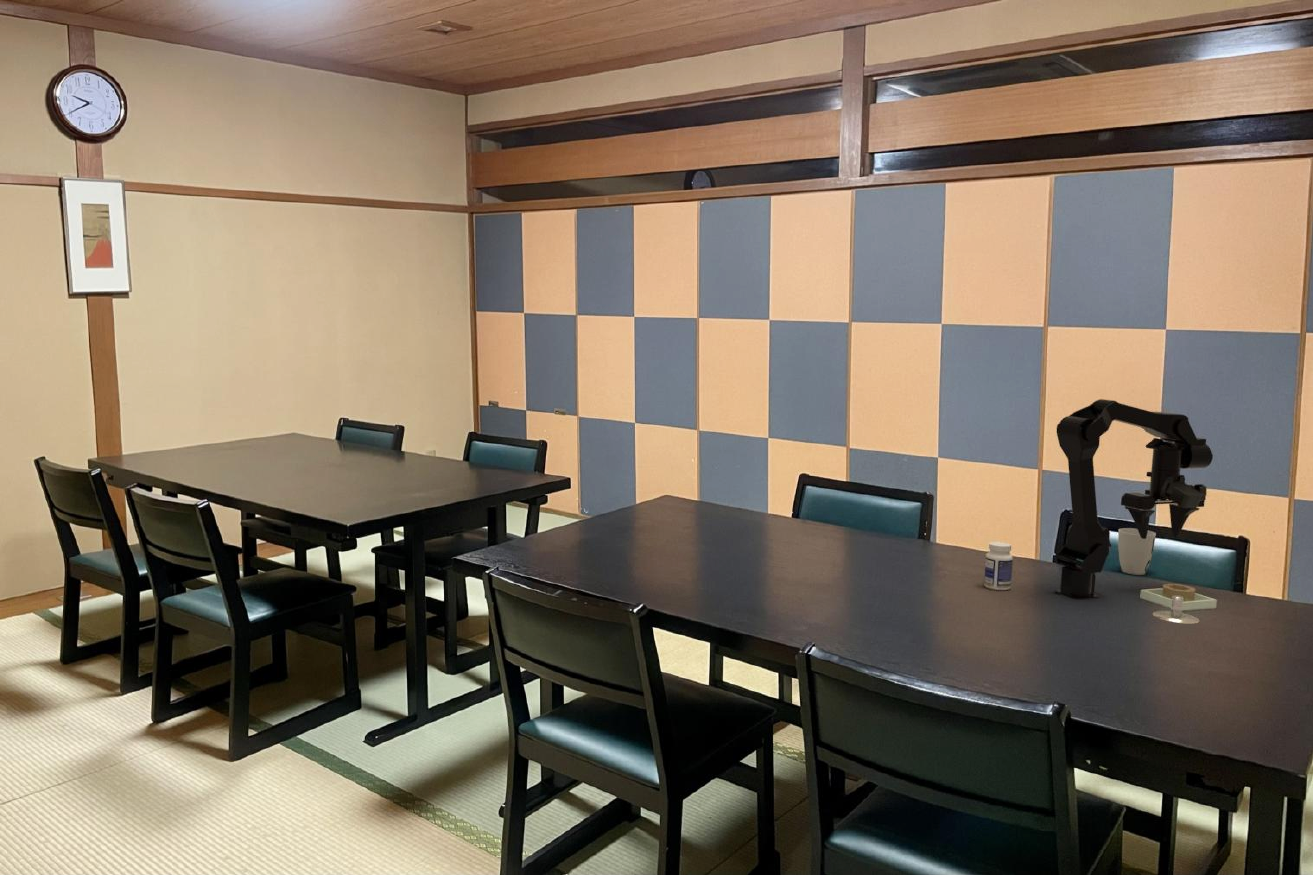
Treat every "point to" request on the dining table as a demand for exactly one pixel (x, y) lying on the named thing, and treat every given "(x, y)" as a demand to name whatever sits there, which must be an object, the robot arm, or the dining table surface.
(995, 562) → the pill bottle
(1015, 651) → the dining table surface
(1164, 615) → the clear stemmed base
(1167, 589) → the ring
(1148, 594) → the dish
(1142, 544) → the cup
